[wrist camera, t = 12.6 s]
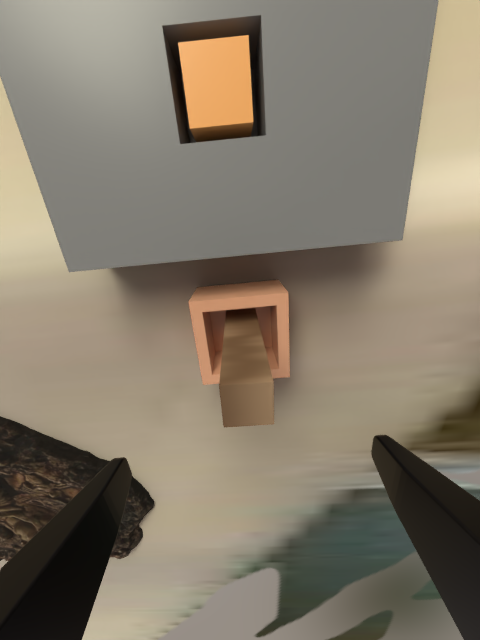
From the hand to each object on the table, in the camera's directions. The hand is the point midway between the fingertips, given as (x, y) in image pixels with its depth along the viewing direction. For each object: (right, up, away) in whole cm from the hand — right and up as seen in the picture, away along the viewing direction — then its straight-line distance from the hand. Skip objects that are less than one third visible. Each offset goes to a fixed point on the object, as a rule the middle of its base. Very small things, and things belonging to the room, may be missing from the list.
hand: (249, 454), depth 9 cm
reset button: (-2, +18, +6) cm, 19 cm away
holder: (0, +5, +12) cm, 13 cm away
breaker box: (-2, +18, +7) cm, 19 cm away
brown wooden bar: (0, +5, +12) cm, 13 cm away
